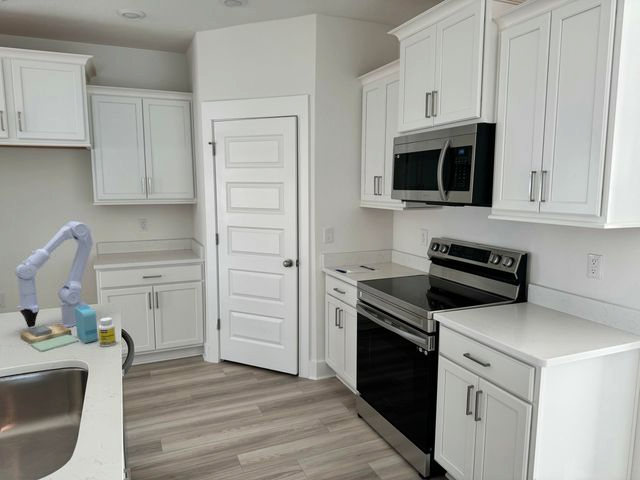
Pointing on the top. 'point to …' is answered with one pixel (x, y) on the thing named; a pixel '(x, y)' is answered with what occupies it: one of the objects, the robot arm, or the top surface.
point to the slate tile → (39, 331)
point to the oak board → (56, 332)
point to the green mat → (54, 343)
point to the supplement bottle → (106, 332)
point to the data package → (86, 324)
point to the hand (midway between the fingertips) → (31, 326)
